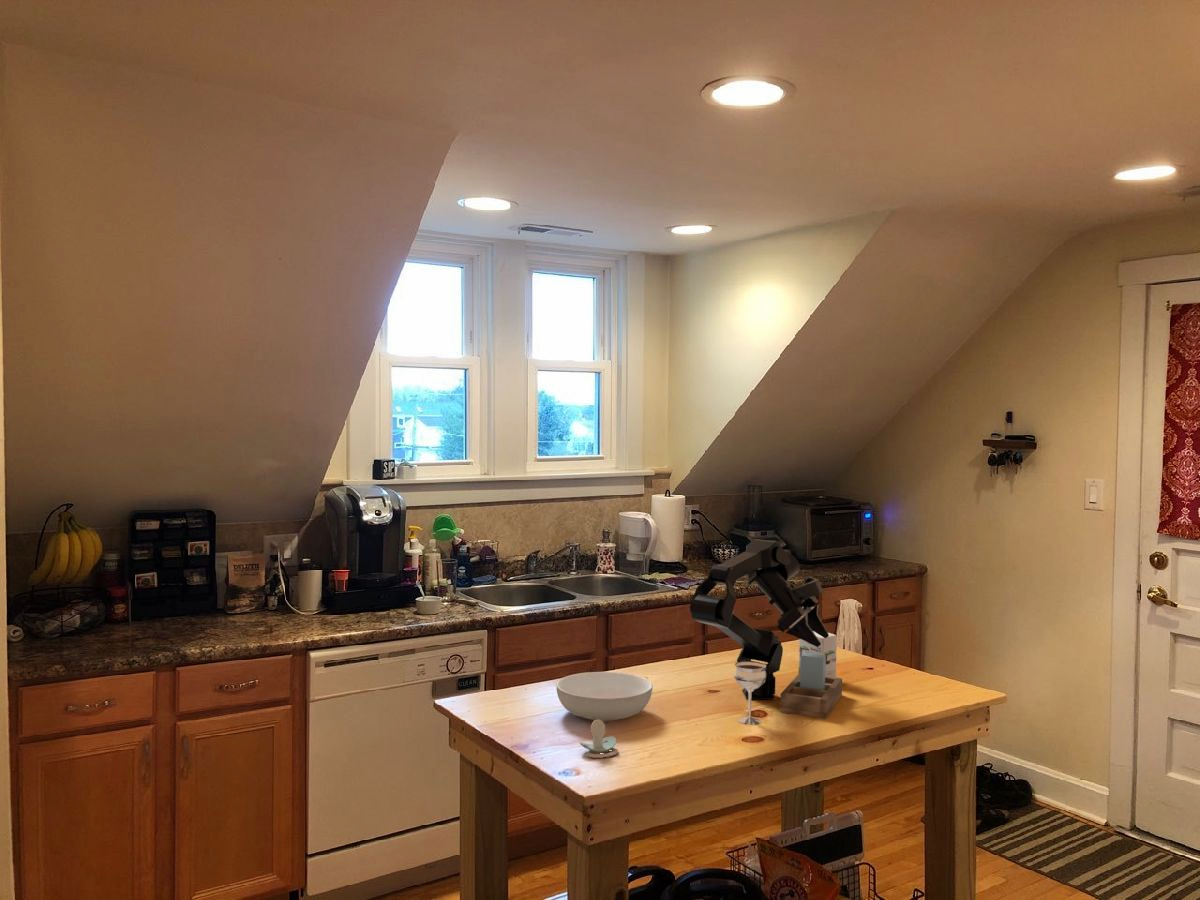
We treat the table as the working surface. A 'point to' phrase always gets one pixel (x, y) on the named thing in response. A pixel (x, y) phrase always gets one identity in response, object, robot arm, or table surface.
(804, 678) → the light blue block
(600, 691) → the serving bowl
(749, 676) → the wineglass
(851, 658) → the table surface
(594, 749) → the pacifier
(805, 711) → the rack
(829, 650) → the ink box
